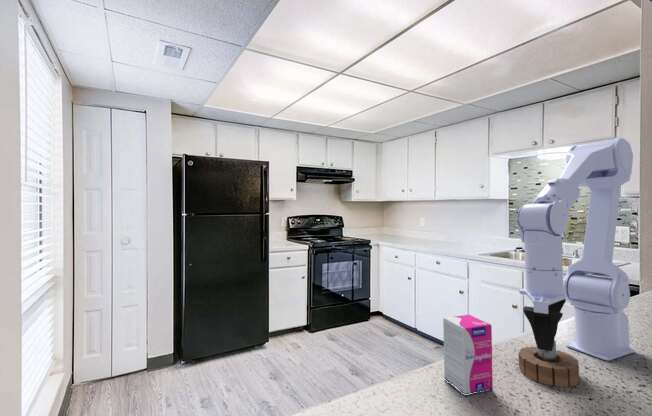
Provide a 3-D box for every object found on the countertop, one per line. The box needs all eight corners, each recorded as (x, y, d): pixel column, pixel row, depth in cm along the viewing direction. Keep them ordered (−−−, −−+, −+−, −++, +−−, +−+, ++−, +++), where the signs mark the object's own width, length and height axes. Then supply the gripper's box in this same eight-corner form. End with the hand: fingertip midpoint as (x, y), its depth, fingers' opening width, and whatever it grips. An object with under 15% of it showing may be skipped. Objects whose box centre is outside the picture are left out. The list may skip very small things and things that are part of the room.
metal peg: (545, 368, 62) (544, 336, 62) (560, 375, 59) (559, 342, 59) (535, 371, 61) (533, 339, 61) (549, 378, 58) (548, 344, 58)
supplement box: (465, 398, 54) (462, 328, 54) (443, 380, 59) (441, 317, 59) (495, 391, 55) (492, 323, 55) (470, 374, 61) (468, 313, 61)
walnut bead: (541, 358, 66) (540, 343, 66) (591, 379, 58) (590, 362, 58) (508, 367, 63) (508, 352, 63) (556, 391, 54) (555, 373, 54)
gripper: (524, 260, 68) (527, 325, 68) (511, 273, 57) (515, 351, 57) (566, 262, 64) (569, 332, 64) (561, 277, 53) (565, 361, 53)
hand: (547, 341), depth 60 cm, fingers open, 7 cm apart
